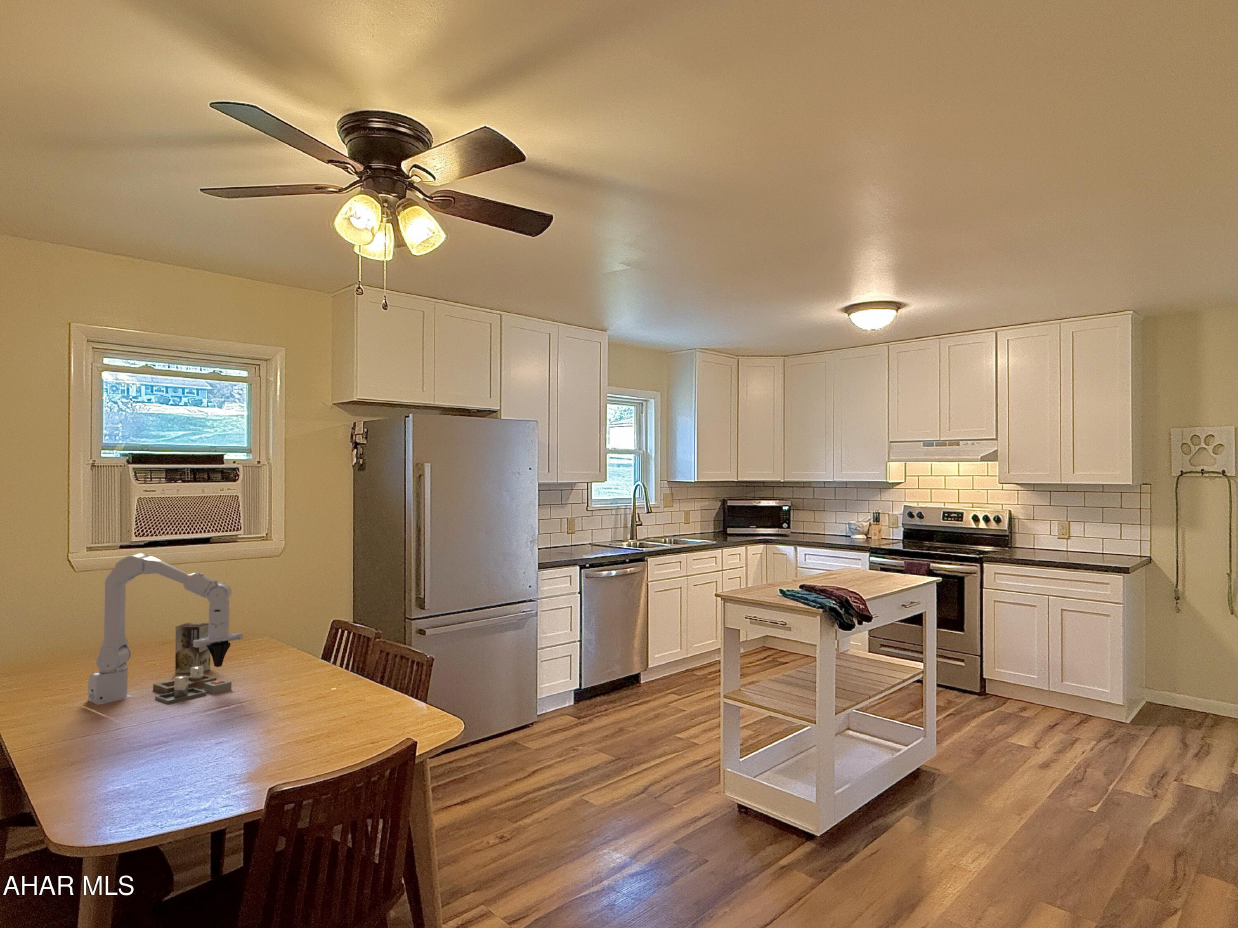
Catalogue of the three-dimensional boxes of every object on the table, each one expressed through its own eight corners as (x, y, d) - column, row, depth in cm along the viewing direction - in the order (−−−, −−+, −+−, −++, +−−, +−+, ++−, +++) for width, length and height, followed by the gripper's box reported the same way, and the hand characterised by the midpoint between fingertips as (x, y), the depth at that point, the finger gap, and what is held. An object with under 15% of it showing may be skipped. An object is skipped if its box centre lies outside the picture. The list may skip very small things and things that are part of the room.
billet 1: (177, 699, 219) (178, 679, 220) (171, 697, 221) (172, 677, 222) (190, 696, 222) (190, 676, 223) (184, 694, 224) (184, 675, 225)
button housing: (213, 695, 225) (213, 685, 225) (203, 692, 228) (204, 682, 228) (231, 691, 230) (231, 681, 230) (222, 688, 233) (222, 678, 233)
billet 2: (193, 688, 233) (194, 669, 233) (188, 686, 235) (188, 667, 235) (205, 685, 236) (205, 667, 236) (199, 683, 238) (199, 665, 238)
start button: (215, 691, 227) (216, 683, 227) (211, 689, 229) (212, 682, 229) (223, 689, 229) (223, 681, 229) (219, 687, 231) (219, 680, 231)
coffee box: (211, 668, 256) (212, 622, 257) (198, 673, 250) (199, 626, 250) (186, 668, 257) (187, 622, 258) (174, 672, 251) (174, 625, 251)
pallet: (166, 696, 224) (167, 688, 224) (153, 691, 229) (153, 683, 229) (216, 685, 236) (216, 677, 236) (202, 680, 241) (202, 673, 241)
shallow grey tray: (168, 705, 215) (168, 700, 215) (155, 700, 220) (155, 695, 220) (206, 696, 224) (206, 691, 224) (193, 692, 229) (193, 687, 229)
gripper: (201, 628, 221) (200, 672, 221) (248, 620, 233) (247, 663, 233) (190, 625, 225) (189, 669, 225) (236, 618, 237) (235, 659, 237)
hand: (218, 666), depth 229 cm, fingers closed
